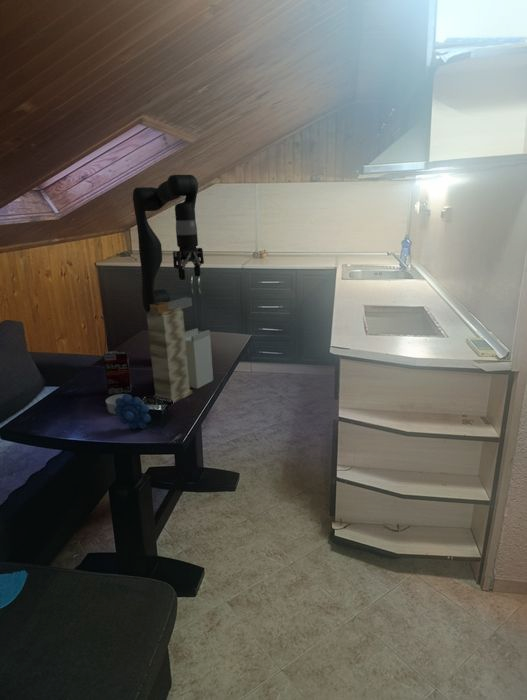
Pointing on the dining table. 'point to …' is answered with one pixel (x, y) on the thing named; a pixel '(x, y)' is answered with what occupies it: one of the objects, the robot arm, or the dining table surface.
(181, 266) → the robot arm
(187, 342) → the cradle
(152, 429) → the dining table surface
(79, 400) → the dining table surface
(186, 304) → the block
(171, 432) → the dining table surface
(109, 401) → the ramekin
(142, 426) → the grapes
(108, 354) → the supplement box
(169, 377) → the stand
